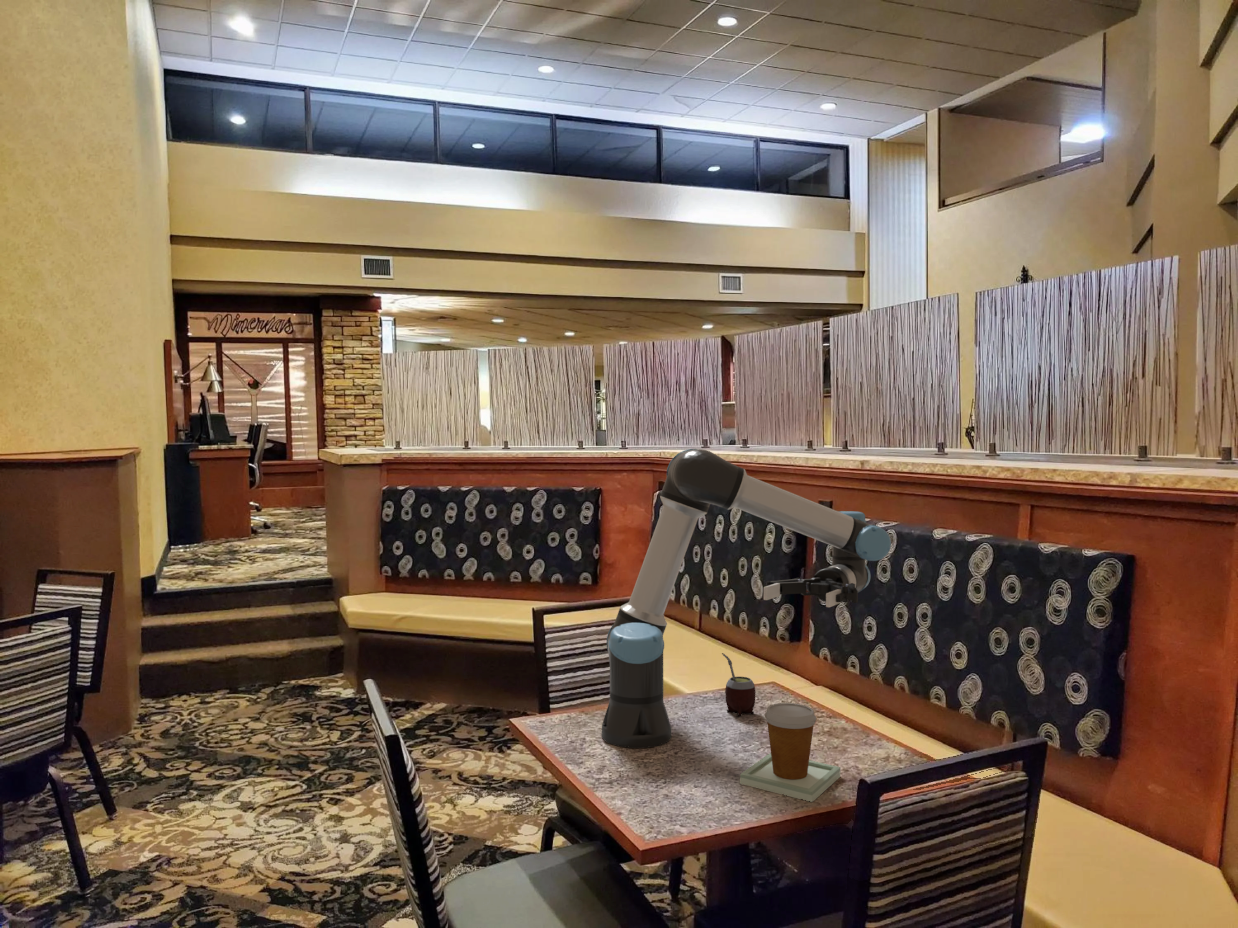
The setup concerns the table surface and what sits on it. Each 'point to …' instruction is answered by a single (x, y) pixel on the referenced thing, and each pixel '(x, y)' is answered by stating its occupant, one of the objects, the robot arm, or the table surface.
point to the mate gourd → (739, 693)
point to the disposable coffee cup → (790, 738)
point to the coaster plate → (803, 788)
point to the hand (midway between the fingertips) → (795, 596)
